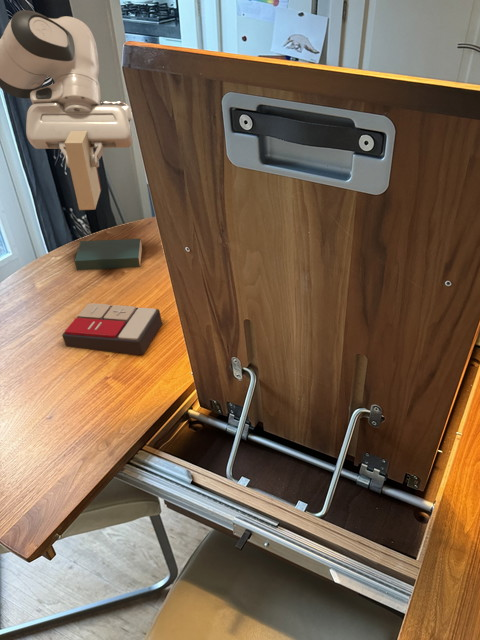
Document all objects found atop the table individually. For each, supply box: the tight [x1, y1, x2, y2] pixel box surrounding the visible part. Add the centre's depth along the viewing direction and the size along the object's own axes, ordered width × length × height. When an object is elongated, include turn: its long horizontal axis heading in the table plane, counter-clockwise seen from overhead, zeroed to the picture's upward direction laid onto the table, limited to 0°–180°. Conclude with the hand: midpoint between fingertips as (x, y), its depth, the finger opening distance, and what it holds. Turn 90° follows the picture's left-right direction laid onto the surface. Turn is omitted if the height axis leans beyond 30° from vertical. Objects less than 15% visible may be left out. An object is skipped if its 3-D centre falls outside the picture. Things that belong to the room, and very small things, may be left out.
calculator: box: [61, 302, 163, 357], centre depth 98 cm, size 11×4×15 cm
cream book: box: [64, 131, 102, 211], centre depth 106 cm, size 3×11×13 cm, turn 9°
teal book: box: [74, 238, 143, 271], centre depth 121 cm, size 14×10×3 cm
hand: (82, 166), depth 105 cm, fingers closed on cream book, 3 cm apart
